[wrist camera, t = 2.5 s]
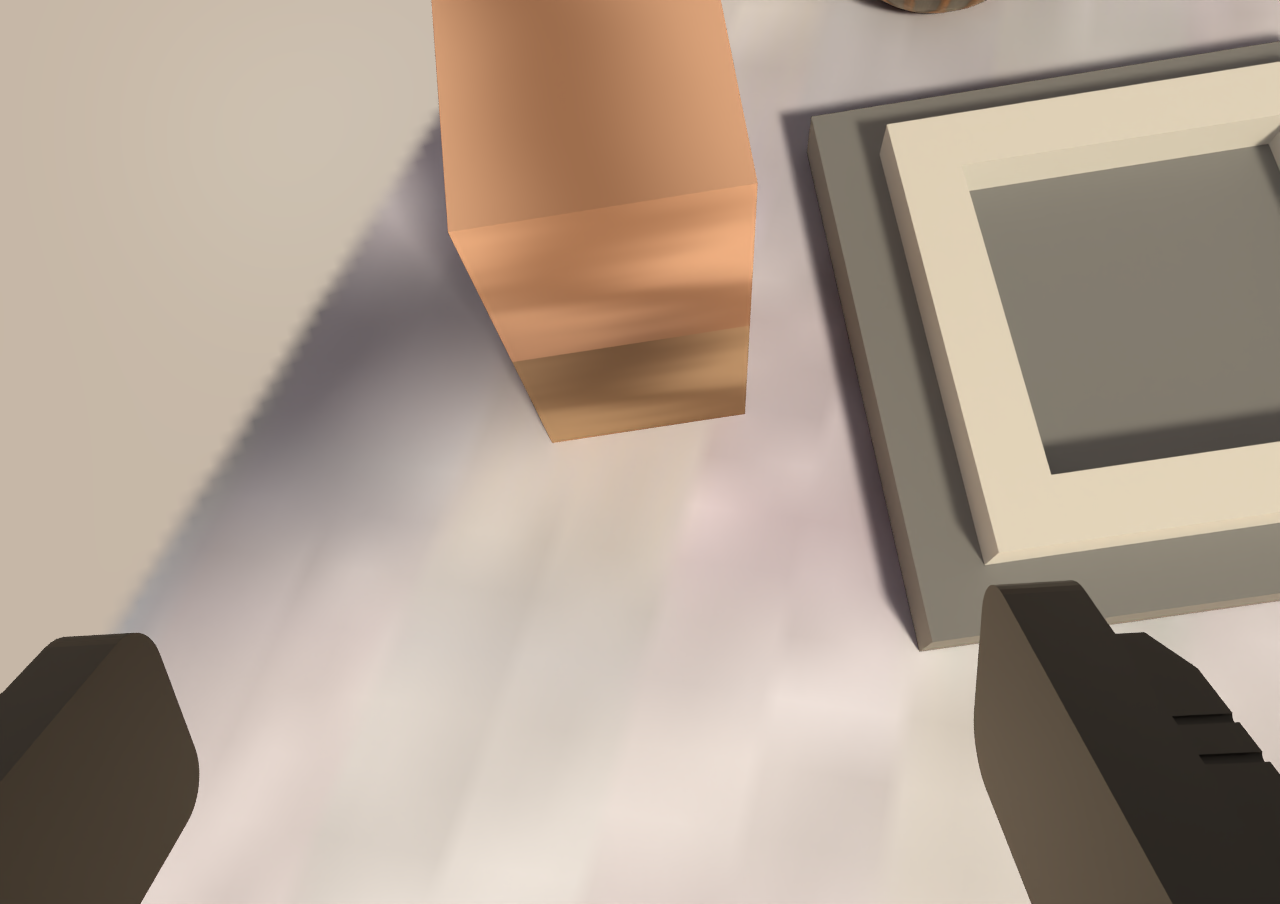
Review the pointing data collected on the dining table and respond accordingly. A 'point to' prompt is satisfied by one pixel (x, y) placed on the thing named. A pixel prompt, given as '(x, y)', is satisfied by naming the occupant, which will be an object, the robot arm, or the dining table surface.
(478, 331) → the dining table surface
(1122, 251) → the pocket board
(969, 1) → the vase
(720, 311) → the copper rectangular block
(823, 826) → the dining table surface
